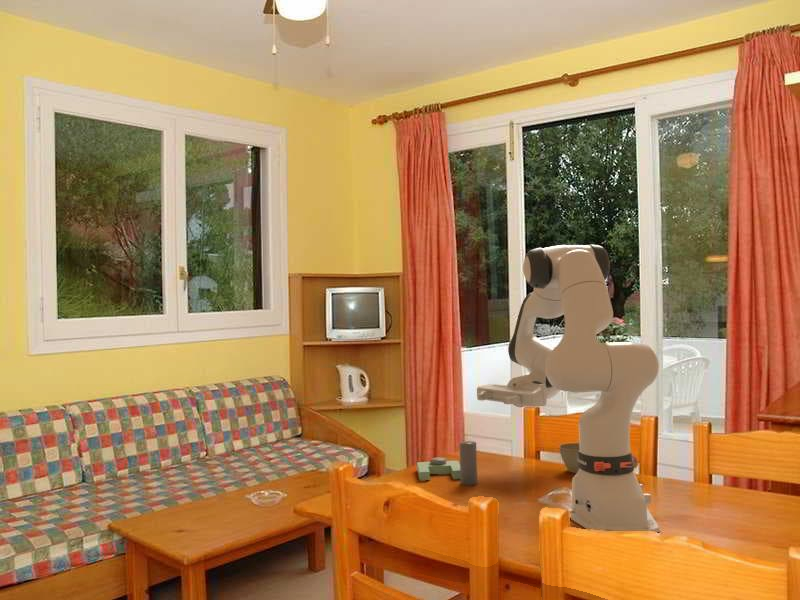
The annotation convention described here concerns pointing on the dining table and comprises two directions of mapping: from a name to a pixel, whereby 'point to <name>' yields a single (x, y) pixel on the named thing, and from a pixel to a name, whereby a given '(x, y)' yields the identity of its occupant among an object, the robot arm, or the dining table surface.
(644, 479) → the dining table surface
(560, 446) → the flower pot
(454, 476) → the green footed base
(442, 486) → the dining table surface
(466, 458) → the grey tall cylinder
